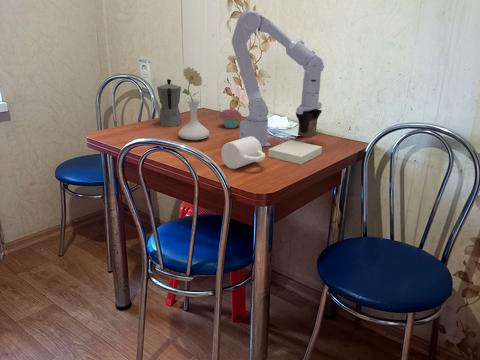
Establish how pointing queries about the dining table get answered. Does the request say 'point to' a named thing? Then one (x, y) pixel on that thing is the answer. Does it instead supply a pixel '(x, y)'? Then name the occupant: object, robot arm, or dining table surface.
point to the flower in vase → (193, 110)
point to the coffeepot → (169, 104)
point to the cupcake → (230, 117)
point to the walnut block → (309, 129)
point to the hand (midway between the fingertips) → (307, 131)
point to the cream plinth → (295, 152)
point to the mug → (242, 152)
